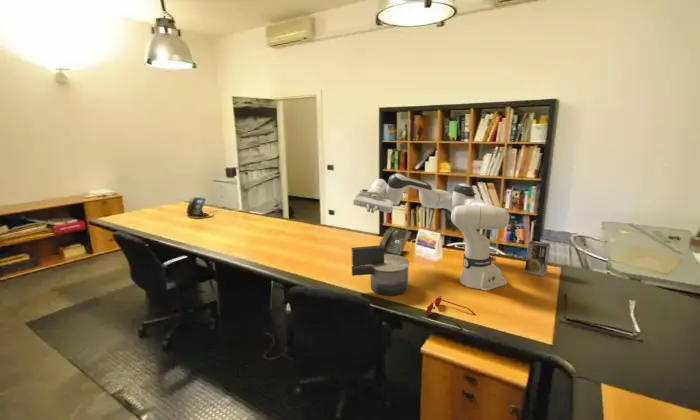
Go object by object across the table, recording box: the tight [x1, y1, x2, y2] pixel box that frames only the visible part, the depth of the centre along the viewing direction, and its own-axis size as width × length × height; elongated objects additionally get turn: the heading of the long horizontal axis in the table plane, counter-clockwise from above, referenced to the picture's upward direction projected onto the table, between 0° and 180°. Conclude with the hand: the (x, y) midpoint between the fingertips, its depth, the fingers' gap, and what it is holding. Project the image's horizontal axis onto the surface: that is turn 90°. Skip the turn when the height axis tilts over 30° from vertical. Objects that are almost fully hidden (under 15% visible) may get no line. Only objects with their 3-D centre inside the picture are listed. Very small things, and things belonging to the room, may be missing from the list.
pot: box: [351, 265, 409, 297], centre depth 165 cm, size 27×18×12 cm, turn 96°
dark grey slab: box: [351, 244, 410, 272], centre depth 163 cm, size 27×19×9 cm
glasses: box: [424, 295, 477, 331], centre depth 142 cm, size 14×16×5 cm
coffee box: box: [524, 239, 551, 277], centre depth 179 cm, size 9×6×16 cm
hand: (370, 211), depth 172 cm, fingers closed
